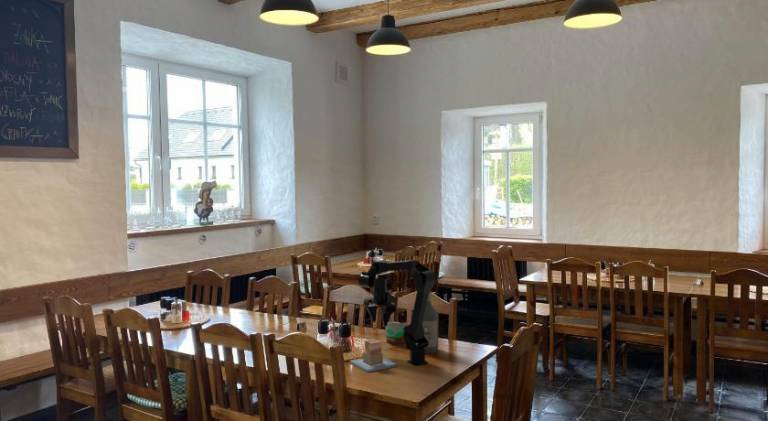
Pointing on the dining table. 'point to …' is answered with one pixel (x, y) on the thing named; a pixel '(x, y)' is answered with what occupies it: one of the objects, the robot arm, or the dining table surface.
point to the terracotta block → (372, 346)
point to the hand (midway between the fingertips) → (379, 324)
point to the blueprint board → (362, 366)
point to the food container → (395, 332)
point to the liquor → (430, 326)
